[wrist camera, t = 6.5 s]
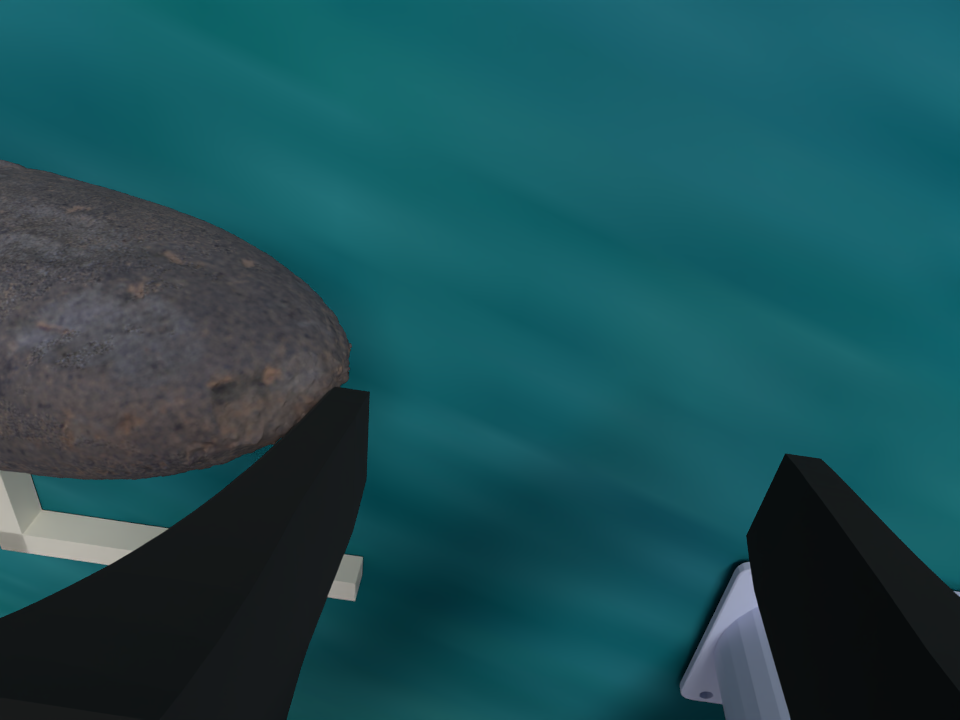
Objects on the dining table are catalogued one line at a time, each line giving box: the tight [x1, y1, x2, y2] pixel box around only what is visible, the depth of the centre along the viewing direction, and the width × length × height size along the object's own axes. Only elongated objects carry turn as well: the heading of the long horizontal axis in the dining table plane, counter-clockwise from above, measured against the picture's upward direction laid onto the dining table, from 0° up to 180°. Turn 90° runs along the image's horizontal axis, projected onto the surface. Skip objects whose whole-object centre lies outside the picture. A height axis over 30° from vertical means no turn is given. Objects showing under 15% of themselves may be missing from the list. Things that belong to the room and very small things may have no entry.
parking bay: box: [0, 470, 363, 601], centre depth 18 cm, size 13×28×2 cm, turn 173°
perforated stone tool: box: [0, 160, 352, 480], centre depth 15 cm, size 15×5×7 cm, turn 89°
